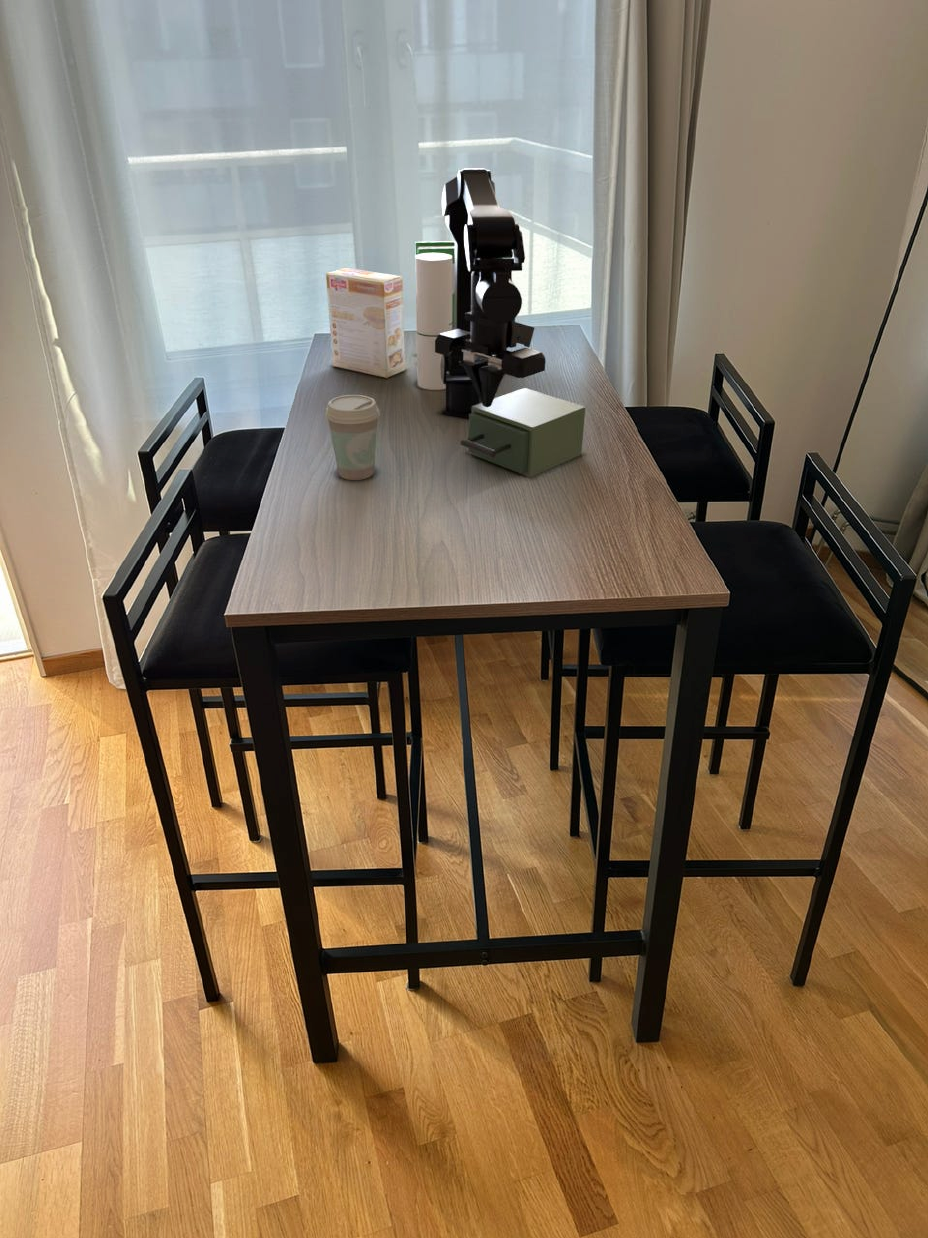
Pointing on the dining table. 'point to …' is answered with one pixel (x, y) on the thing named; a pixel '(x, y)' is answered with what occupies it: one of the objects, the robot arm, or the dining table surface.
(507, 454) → the drawer
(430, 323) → the cylindrical container
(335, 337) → the coffeecake box
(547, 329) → the dining table surface
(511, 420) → the cabinet
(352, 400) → the coffee cup
